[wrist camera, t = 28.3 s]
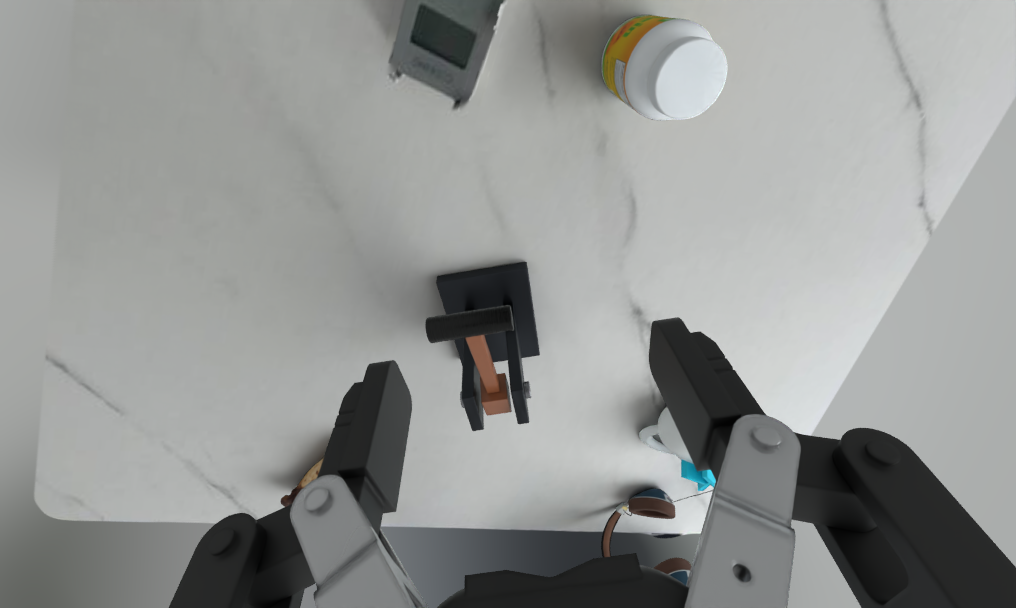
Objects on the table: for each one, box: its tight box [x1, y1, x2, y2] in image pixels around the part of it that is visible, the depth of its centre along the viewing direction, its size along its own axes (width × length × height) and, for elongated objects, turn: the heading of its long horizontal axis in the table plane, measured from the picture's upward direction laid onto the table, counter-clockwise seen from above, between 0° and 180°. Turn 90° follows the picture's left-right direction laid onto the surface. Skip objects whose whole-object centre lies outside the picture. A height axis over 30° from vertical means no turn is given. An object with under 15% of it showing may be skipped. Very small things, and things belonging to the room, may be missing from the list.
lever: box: [426, 305, 514, 415], centre depth 31 cm, size 13×6×2 cm, turn 8°
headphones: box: [601, 489, 713, 585], centre depth 64 cm, size 6×15×22 cm
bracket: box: [436, 262, 540, 431], centre depth 39 cm, size 12×9×13 cm
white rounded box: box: [639, 407, 716, 491], centre depth 55 cm, size 12×9×12 cm
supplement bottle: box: [601, 15, 727, 120], centre depth 26 cm, size 5×5×10 cm
